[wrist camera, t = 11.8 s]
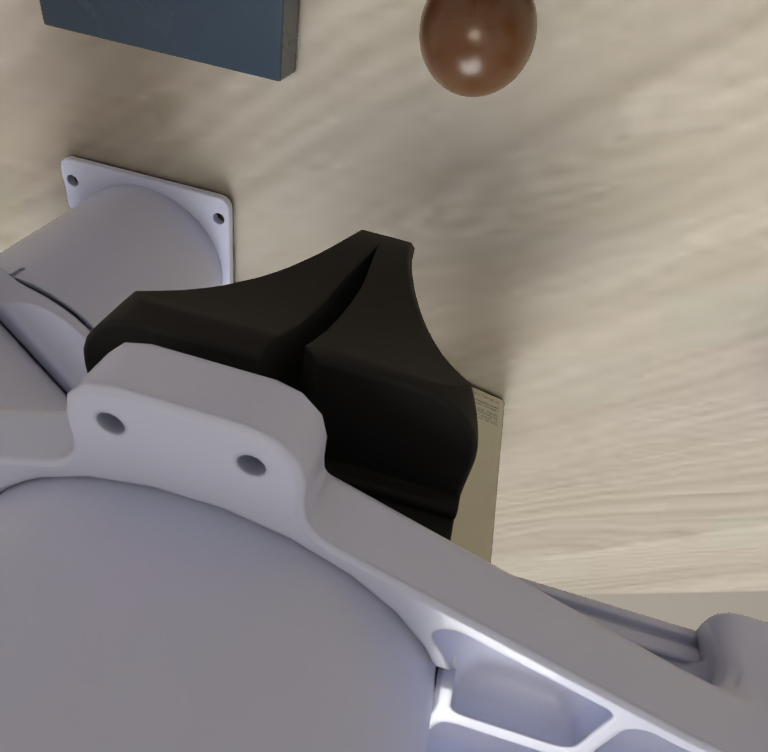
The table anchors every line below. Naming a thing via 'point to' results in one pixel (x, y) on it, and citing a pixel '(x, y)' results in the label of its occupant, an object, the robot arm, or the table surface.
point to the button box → (192, 29)
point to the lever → (477, 42)
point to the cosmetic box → (481, 481)
